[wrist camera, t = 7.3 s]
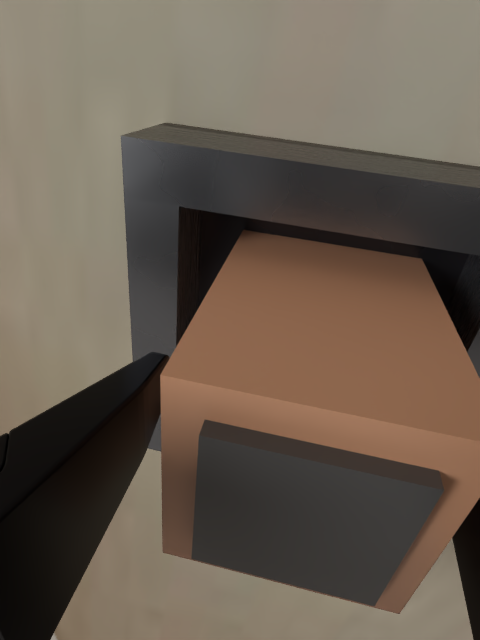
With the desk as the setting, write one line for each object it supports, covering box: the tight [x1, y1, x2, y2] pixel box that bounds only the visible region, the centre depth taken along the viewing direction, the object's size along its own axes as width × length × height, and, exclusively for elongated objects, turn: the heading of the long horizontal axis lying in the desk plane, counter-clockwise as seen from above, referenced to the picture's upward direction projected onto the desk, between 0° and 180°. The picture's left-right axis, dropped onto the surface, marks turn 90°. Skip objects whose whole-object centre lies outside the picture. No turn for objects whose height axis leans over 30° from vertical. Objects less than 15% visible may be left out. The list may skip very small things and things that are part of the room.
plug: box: [160, 230, 480, 614], centre depth 9 cm, size 4×4×6 cm
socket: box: [121, 123, 480, 451], centre depth 11 cm, size 9×9×2 cm
